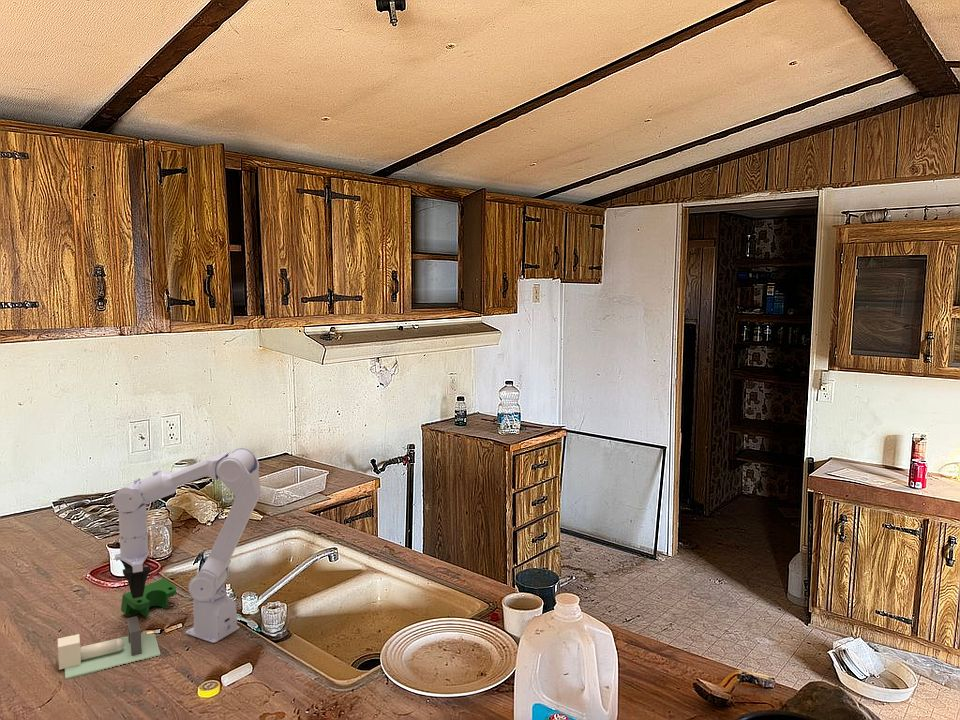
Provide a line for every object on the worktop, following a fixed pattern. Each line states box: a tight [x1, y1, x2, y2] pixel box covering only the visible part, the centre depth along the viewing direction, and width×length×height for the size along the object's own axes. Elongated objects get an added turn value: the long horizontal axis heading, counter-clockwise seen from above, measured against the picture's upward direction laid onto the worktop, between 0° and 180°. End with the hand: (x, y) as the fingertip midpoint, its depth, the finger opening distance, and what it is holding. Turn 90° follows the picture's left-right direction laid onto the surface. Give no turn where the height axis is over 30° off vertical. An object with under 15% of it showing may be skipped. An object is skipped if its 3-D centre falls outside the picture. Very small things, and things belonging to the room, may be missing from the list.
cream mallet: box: [57, 633, 124, 670], centre depth 149 cm, size 12×4×5 cm, turn 122°
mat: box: [64, 631, 162, 680], centre depth 151 cm, size 18×12×1 cm, turn 122°
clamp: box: [120, 577, 177, 618], centre depth 171 cm, size 12×6×9 cm, turn 142°
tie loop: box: [127, 615, 142, 656], centre depth 153 cm, size 2×7×5 cm, turn 32°
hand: (135, 590), depth 160 cm, fingers open, 7 cm apart
